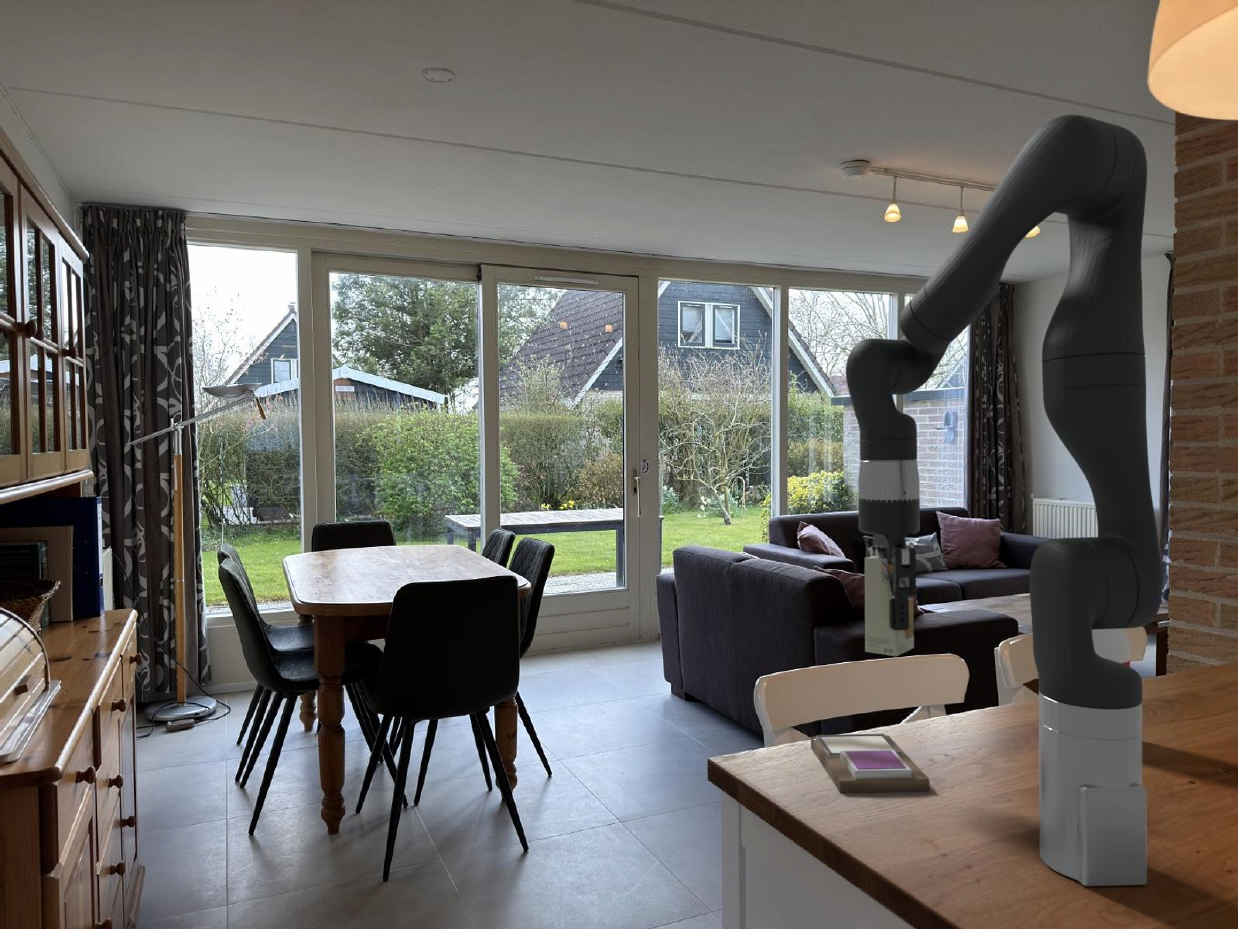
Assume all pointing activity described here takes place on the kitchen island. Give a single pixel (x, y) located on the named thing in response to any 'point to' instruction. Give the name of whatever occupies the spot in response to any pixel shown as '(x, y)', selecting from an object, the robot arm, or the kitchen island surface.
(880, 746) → the stamping board
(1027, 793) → the kitchen island surface
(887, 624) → the skincare box
